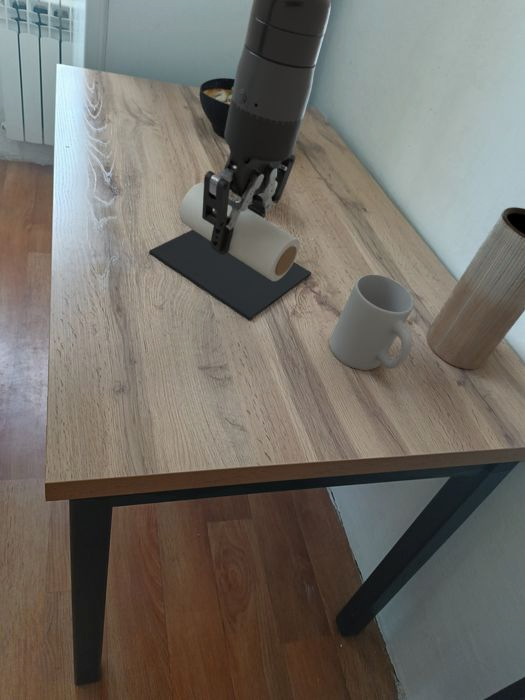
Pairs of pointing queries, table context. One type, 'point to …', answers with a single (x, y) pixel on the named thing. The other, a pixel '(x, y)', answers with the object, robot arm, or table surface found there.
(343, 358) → the mug
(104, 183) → the table surface
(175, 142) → the table surface
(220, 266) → the mat
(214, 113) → the bowl
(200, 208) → the towel roll
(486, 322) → the planter
